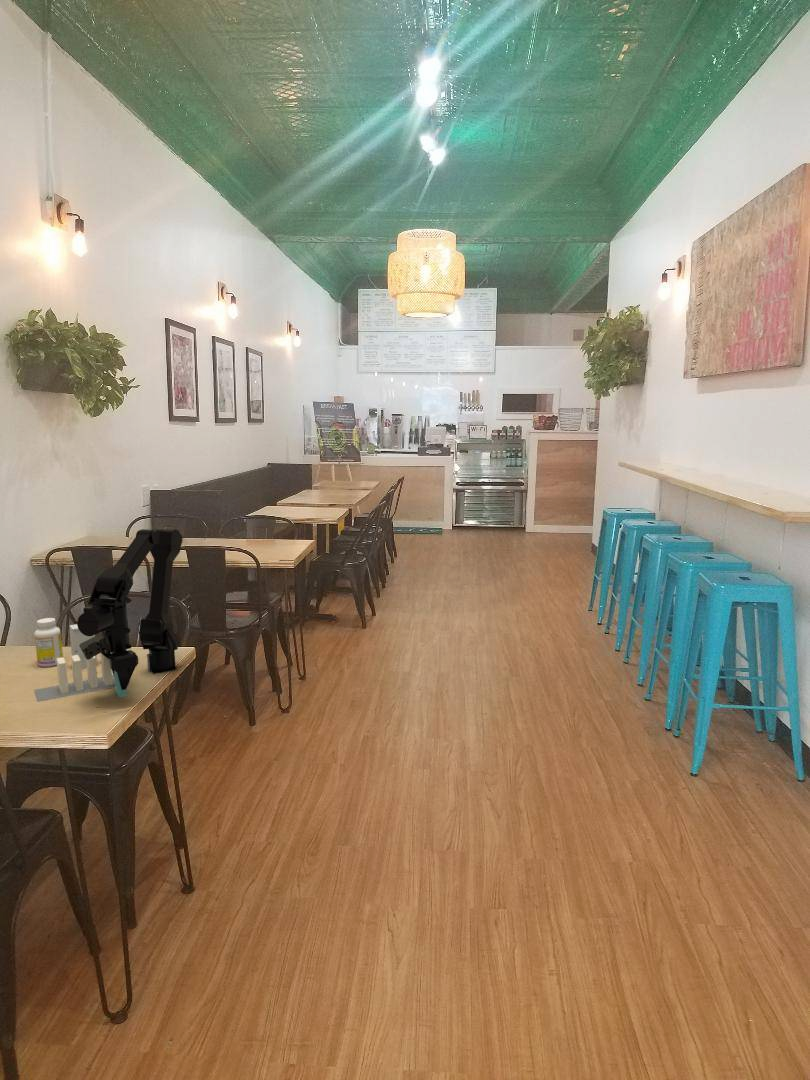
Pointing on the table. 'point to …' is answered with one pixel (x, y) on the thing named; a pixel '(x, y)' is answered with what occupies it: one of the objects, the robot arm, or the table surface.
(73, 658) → the domino
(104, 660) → the domino
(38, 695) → the mat
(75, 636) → the skincare box
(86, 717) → the table surface
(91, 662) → the domino
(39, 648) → the supplement bottle
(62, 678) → the domino
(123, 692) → the teal domino
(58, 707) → the table surface
